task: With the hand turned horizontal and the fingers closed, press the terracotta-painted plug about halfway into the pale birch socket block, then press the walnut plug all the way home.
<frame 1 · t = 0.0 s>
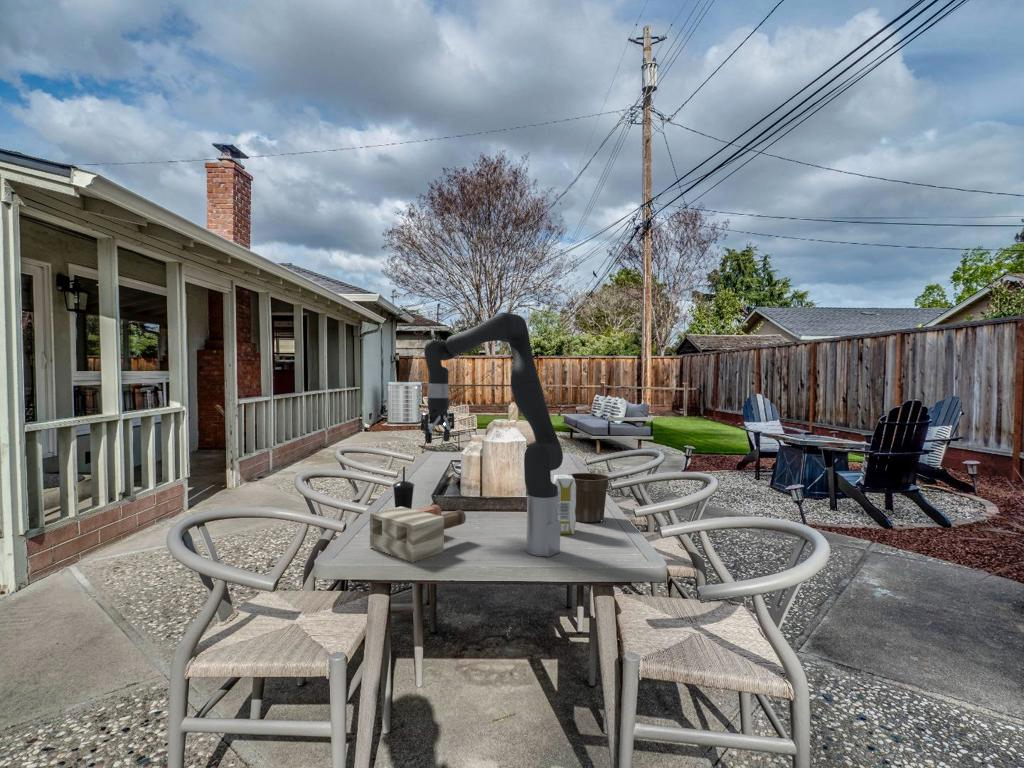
hand: (437, 442, 182), 29 cm above the table, tool pointing down, fingers open, 8 cm apart
walnut plug: (442, 522, 160), point 7 cm above the table, slide at 0.0 cm
juice carton: (563, 532, 176), on the table
drinking cup: (403, 523, 184), on the table
socket block: (406, 549, 154), on the table
plant pot: (587, 519, 193), on the table
terracotta plug: (418, 516, 166), point 7 cm above the table, slide at 0.0 cm
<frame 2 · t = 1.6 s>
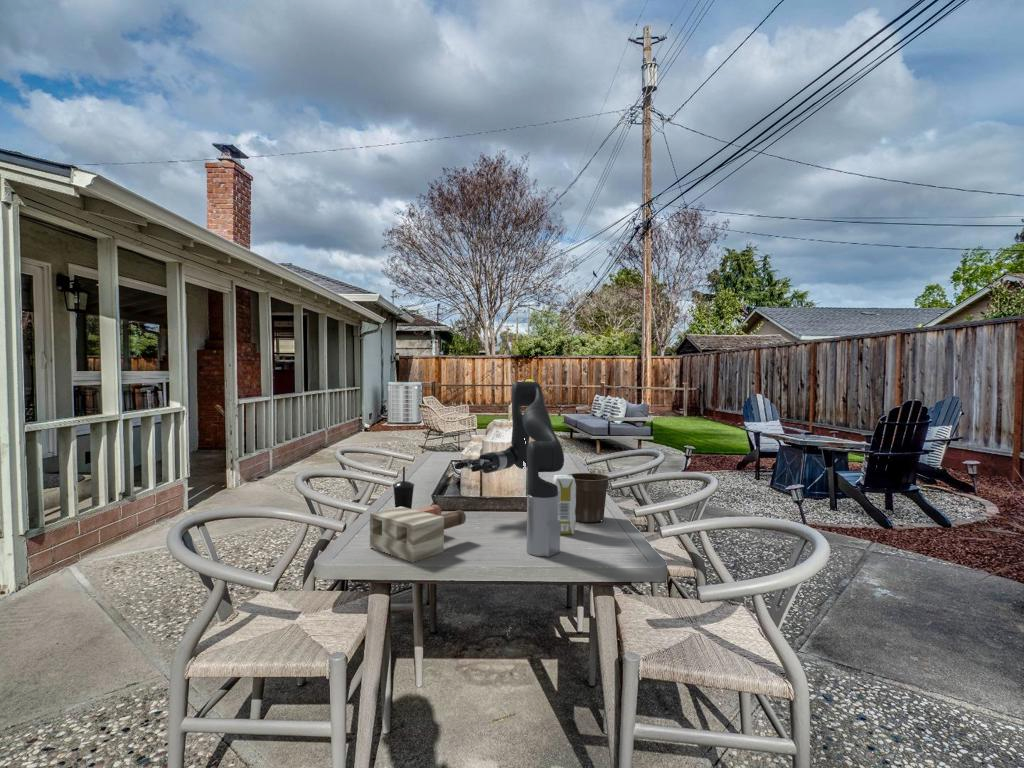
hand: (463, 467, 183), 20 cm above the table, tool horizontal, fingers open, 7 cm apart
nothing on the table moved.
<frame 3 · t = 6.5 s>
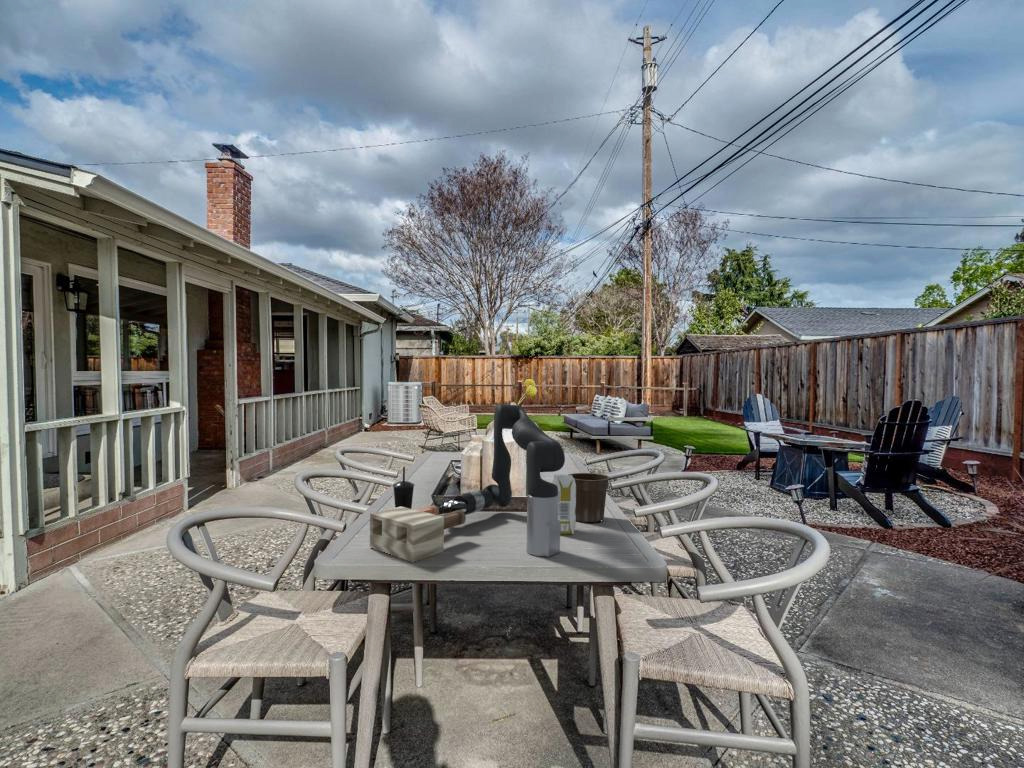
hand: (434, 512, 172), 7 cm above the table, tool horizontal, fingers closed
terracotta plug: (415, 517, 165), point 7 cm above the table, slide at 1.1 cm, touching gripper
everything else where it was.
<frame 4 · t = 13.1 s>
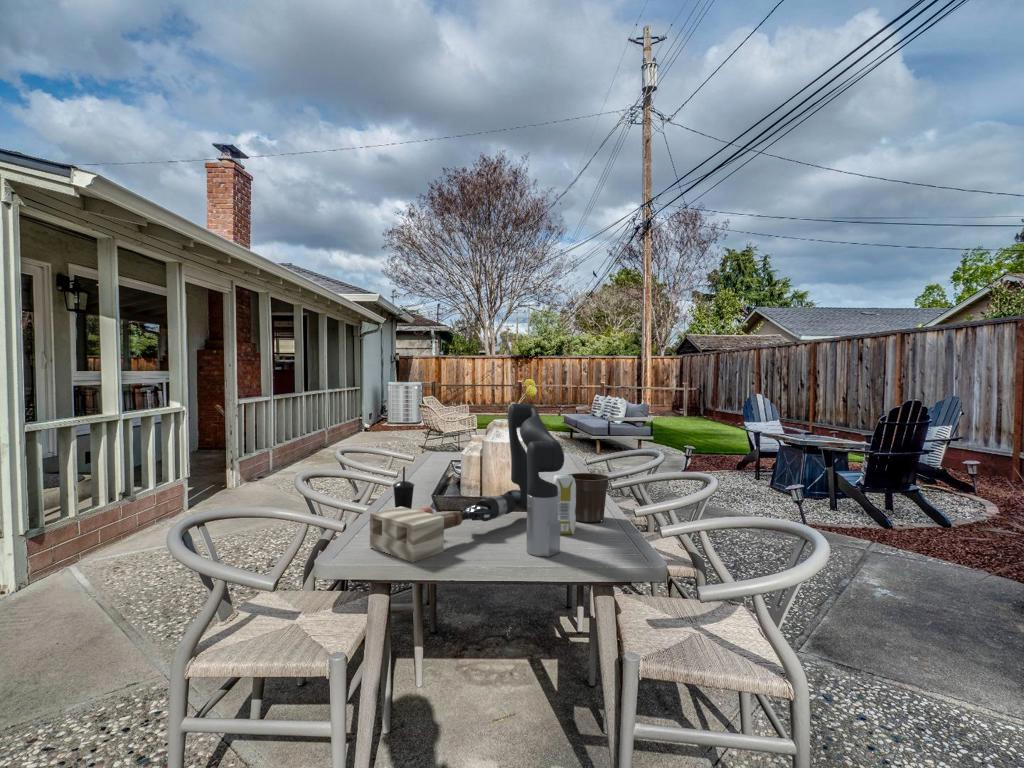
hand: (457, 517, 165), 7 cm above the table, tool horizontal, fingers closed
walnut plug: (438, 523, 158), point 7 cm above the table, slide at 1.6 cm, touching gripper
terracotta plug: (409, 518, 163), point 7 cm above the table, slide at 3.8 cm
everything else where it was.
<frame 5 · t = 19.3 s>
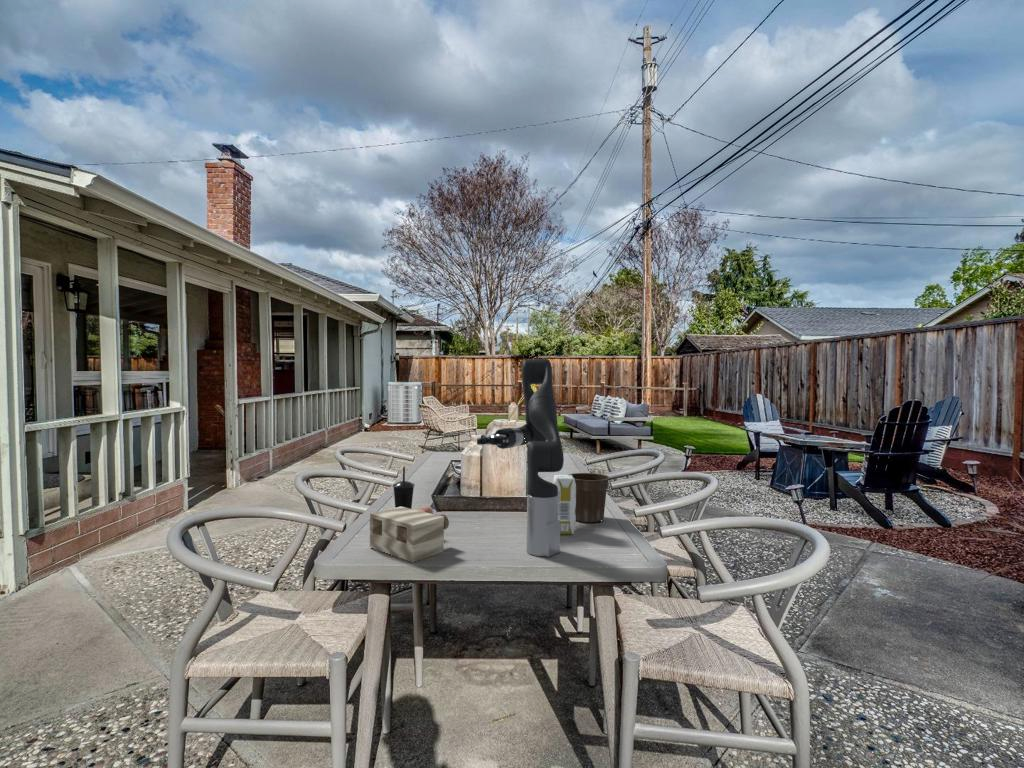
hand: (478, 441, 180), 30 cm above the table, tool horizontal, fingers closed
walnut plug: (423, 527, 154), point 7 cm above the table, slide at 7.7 cm
everything else where it was.
at the end: walnut plug slide at 7.7 cm; terracotta plug slide at 3.8 cm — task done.
